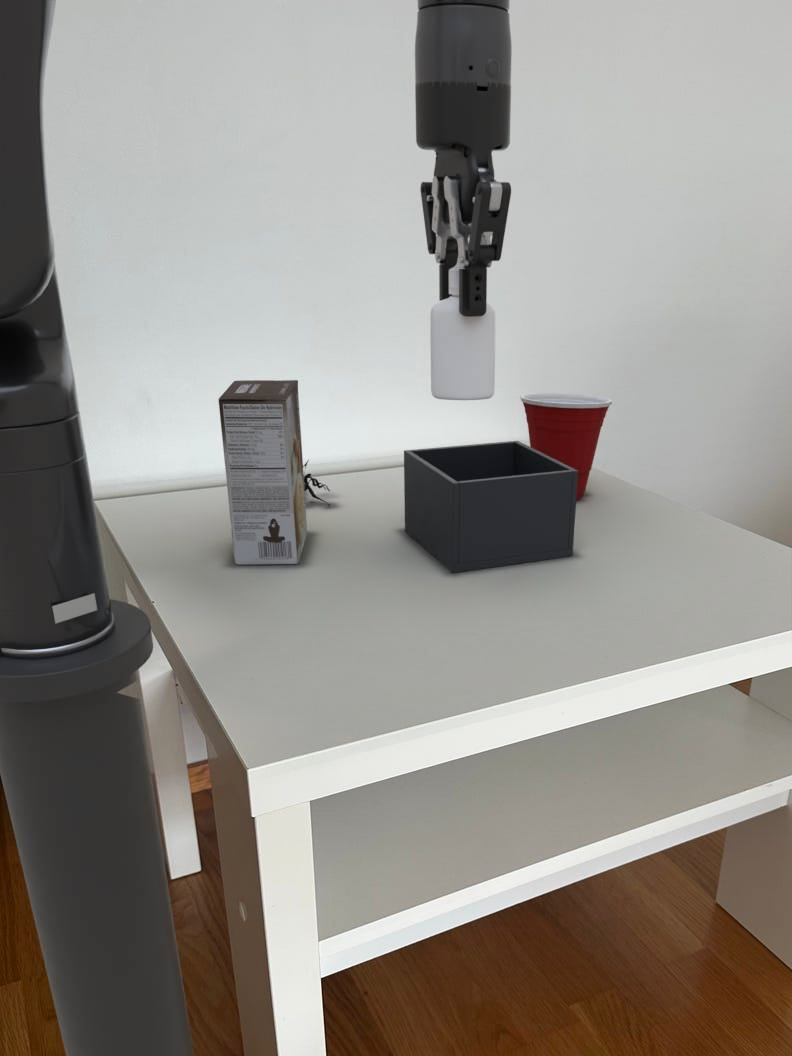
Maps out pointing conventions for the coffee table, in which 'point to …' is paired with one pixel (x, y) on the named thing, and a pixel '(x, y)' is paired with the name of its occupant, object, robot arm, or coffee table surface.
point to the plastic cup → (566, 429)
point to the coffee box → (264, 471)
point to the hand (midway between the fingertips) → (462, 311)
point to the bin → (489, 504)
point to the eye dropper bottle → (461, 349)
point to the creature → (306, 485)
